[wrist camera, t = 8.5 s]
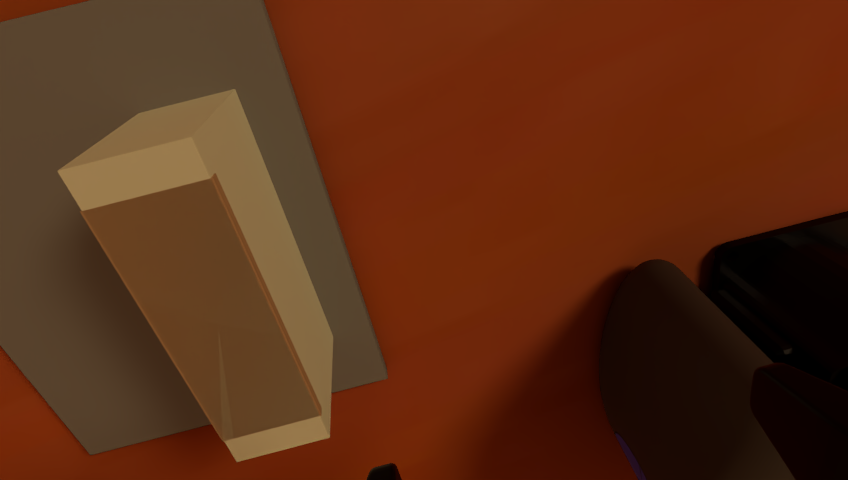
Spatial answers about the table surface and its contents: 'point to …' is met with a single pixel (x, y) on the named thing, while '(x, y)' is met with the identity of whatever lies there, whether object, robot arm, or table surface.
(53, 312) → the mat
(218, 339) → the block
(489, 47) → the table surface
